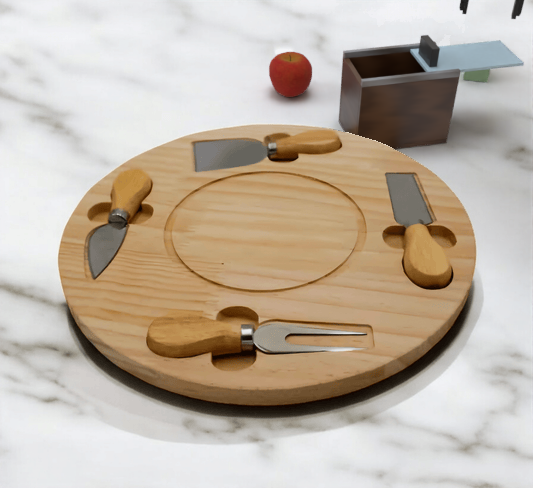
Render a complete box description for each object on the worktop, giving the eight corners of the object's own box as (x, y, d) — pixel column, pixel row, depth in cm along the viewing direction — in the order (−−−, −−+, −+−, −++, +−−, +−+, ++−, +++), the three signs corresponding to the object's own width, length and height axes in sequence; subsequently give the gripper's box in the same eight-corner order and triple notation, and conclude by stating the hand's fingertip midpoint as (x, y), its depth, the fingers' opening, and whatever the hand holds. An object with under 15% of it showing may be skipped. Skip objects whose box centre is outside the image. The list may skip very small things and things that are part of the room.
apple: (301, 107, 117) (302, 67, 112) (262, 98, 120) (261, 59, 115) (317, 88, 123) (319, 48, 117) (279, 80, 125) (279, 41, 120)
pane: (499, 42, 108) (504, 22, 106) (523, 65, 102) (529, 44, 100) (409, 52, 106) (412, 31, 104) (428, 75, 100) (432, 54, 98)
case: (423, 110, 116) (434, 41, 107) (446, 143, 108) (460, 70, 99) (338, 120, 114) (343, 50, 105) (355, 154, 106) (362, 81, 97)
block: (464, 69, 127) (468, 48, 124) (487, 72, 126) (492, 50, 123) (463, 79, 124) (467, 58, 121) (487, 82, 123) (492, 60, 120)
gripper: (464, -79, 105) (446, 19, 116) (557, -72, 102) (530, 27, 113) (466, -92, 111) (449, 3, 121) (555, -86, 108) (529, 10, 118)
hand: (488, 15), depth 117 cm, fingers open, 8 cm apart
